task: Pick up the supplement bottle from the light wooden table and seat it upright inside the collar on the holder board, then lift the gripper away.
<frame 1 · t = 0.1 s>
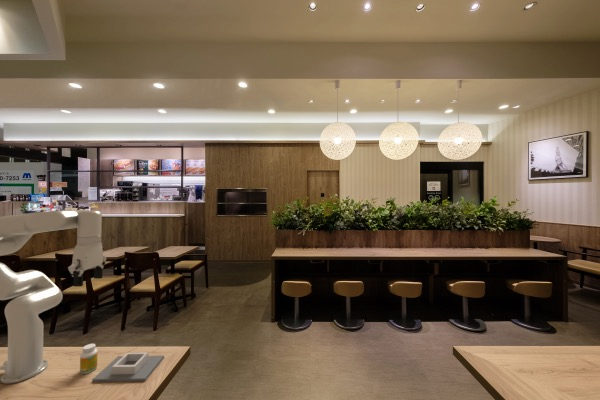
hand: (88, 282, 98), 37 cm above the table, tool pointing down, fingers open, 9 cm apart
cup holder: (130, 368, 100), on the table
supplement bottle: (88, 370, 99), on the table
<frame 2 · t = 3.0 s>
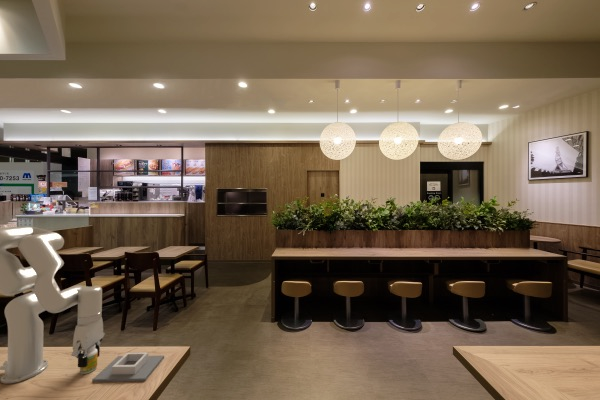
hand: (88, 361, 99), 4 cm above the table, tool pointing down, fingers closed on supplement bottle, 5 cm apart
supplement bottle: (88, 370, 99), on the table, touching gripper
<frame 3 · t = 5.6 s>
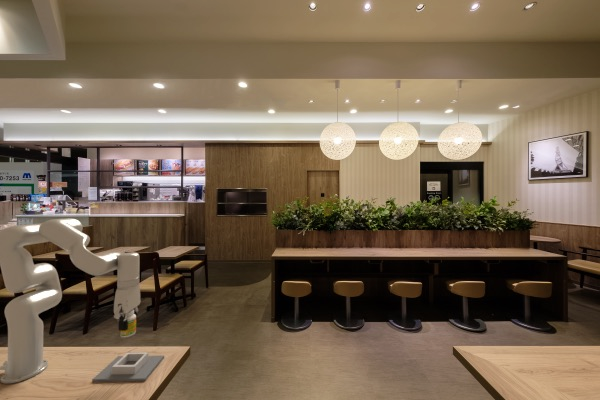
hand: (128, 325, 100), 18 cm above the table, tool pointing down, fingers closed on supplement bottle, 5 cm apart
supplement bottle: (128, 334, 100), point 14 cm above the table, touching gripper
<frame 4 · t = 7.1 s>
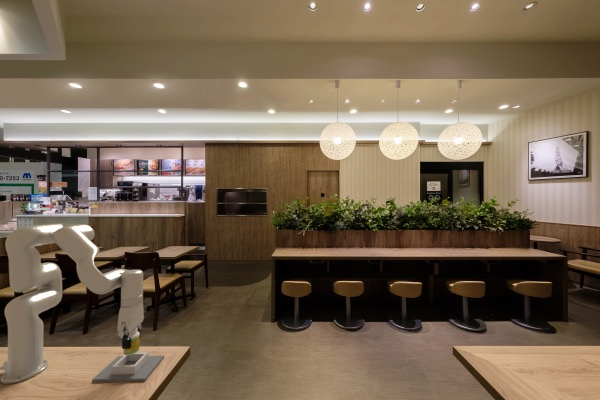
hand: (131, 343, 100), 11 cm above the table, tool pointing down, fingers closed on supplement bottle, 5 cm apart
supplement bottle: (131, 352, 100), point 7 cm above the table, touching gripper
when the fingers open (6 cm above the table, at t = 8.4 s): supplement bottle drops 1 cm, resting on cup holder.
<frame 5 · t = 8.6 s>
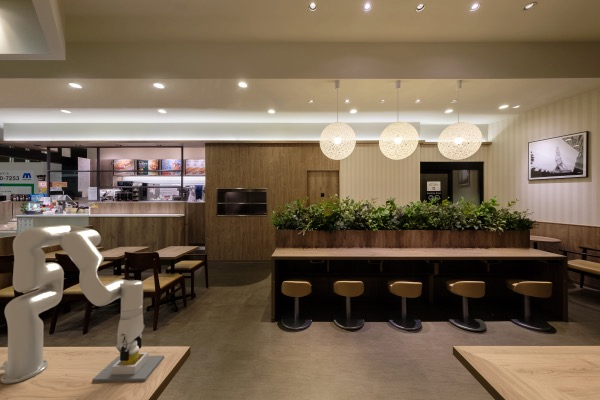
hand: (131, 353, 100), 6 cm above the table, tool pointing down, fingers open, 7 cm apart
supplement bottle: (130, 366, 100), point 1 cm above the table, touching cup holder
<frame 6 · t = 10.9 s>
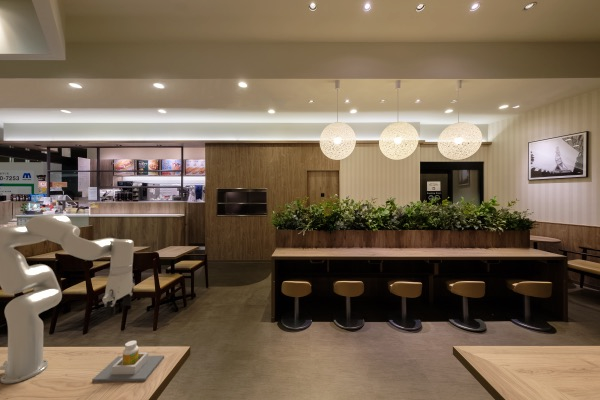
hand: (118, 310, 100), 24 cm above the table, tool pointing down, fingers open, 9 cm apart
nothing on the table moved.
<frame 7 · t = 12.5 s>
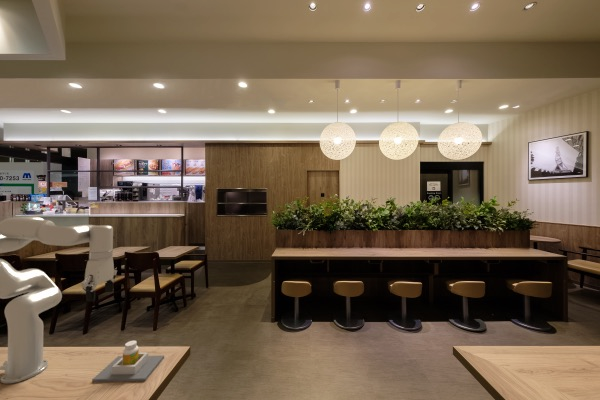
hand: (100, 296, 99), 30 cm above the table, tool pointing down, fingers open, 9 cm apart
nothing on the table moved.
at the end: supplement bottle 0.2 cm off-centre on the cup holder, point 0.8 cm above the cup holder's base; supplement bottle tilted 0°; the gripper is holding nothing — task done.
